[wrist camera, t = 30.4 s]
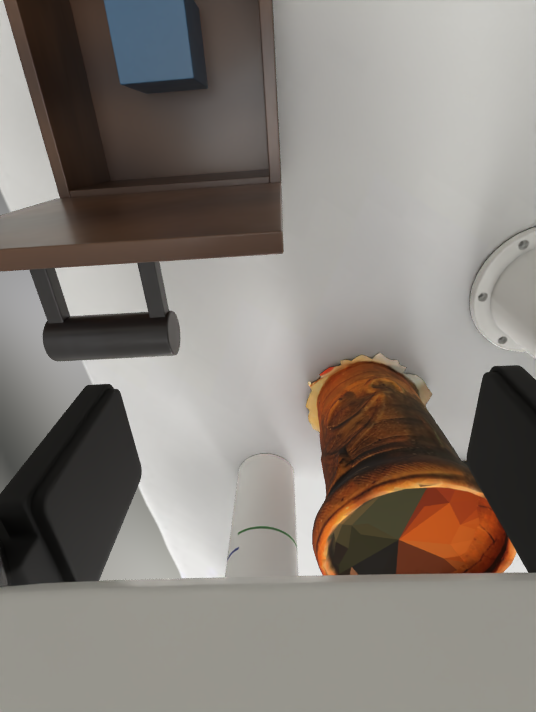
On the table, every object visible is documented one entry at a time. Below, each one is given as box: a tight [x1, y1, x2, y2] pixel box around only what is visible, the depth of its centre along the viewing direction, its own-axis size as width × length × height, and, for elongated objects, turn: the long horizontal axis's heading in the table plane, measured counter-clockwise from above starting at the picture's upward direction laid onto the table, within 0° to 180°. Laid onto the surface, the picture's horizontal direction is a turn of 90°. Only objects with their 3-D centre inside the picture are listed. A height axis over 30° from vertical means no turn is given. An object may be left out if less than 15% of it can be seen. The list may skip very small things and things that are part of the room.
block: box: [104, 0, 208, 94], centre depth 29 cm, size 5×5×6 cm
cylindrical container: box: [225, 454, 298, 577], centre depth 41 cm, size 7×7×25 cm
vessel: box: [306, 353, 516, 576], centre depth 37 cm, size 14×14×20 cm
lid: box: [0, 183, 284, 361], centre depth 22 cm, size 16×16×6 cm
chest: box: [3, 0, 281, 198], centre depth 29 cm, size 15×16×9 cm
